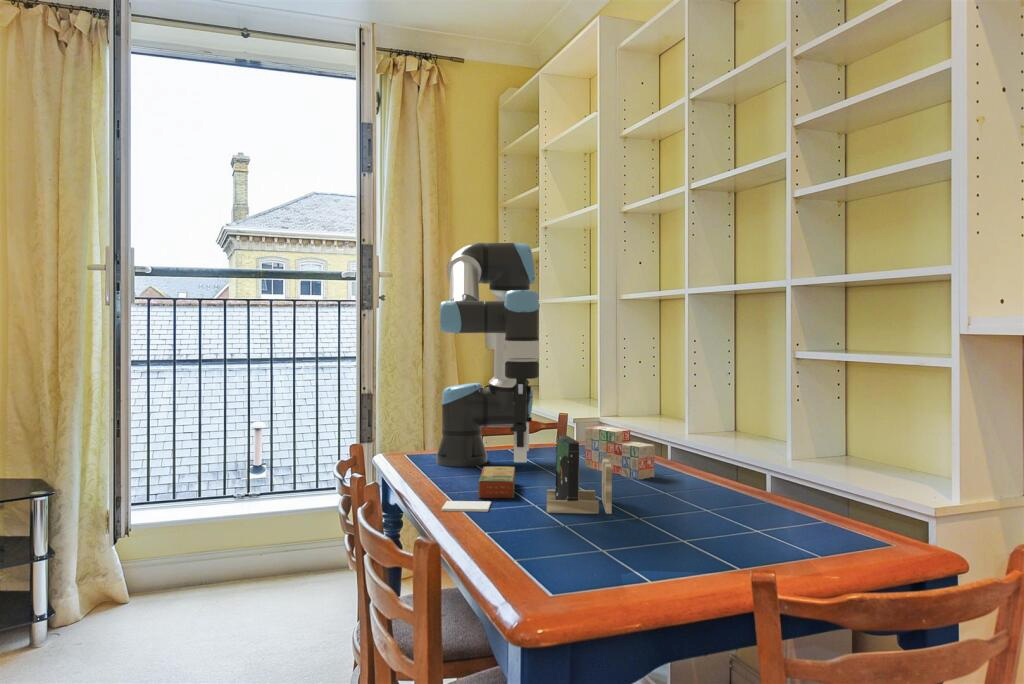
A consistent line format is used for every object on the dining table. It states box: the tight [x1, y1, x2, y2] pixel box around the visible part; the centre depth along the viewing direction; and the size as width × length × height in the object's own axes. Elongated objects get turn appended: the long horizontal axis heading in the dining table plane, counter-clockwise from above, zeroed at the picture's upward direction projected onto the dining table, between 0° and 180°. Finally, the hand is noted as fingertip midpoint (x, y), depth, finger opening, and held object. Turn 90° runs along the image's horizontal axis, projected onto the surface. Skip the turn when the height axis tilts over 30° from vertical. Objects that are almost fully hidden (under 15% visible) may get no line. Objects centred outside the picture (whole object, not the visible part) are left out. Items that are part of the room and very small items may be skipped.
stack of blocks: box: [584, 425, 656, 481], centre depth 187 cm, size 21×6×12 cm, turn 35°
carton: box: [477, 466, 516, 499], centre depth 164 cm, size 8×16×4 cm, turn 179°
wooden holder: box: [546, 457, 613, 515], centre depth 149 cm, size 11×14×10 cm
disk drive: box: [555, 434, 581, 501], centre depth 149 cm, size 10×3×15 cm, turn 12°
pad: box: [441, 500, 492, 513], centre depth 149 cm, size 7×10×1 cm
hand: (521, 456), depth 151 cm, fingers open, 13 cm apart
